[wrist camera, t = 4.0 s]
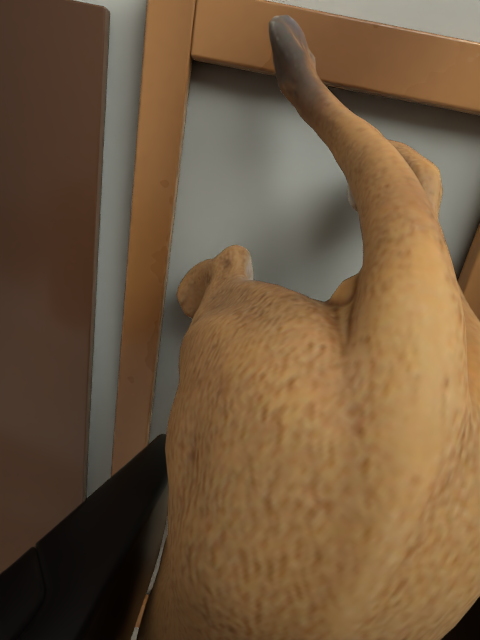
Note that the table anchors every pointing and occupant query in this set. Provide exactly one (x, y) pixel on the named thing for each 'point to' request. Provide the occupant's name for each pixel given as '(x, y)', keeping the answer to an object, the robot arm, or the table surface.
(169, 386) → the table surface
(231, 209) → the table surface
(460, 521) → the lion figurine
